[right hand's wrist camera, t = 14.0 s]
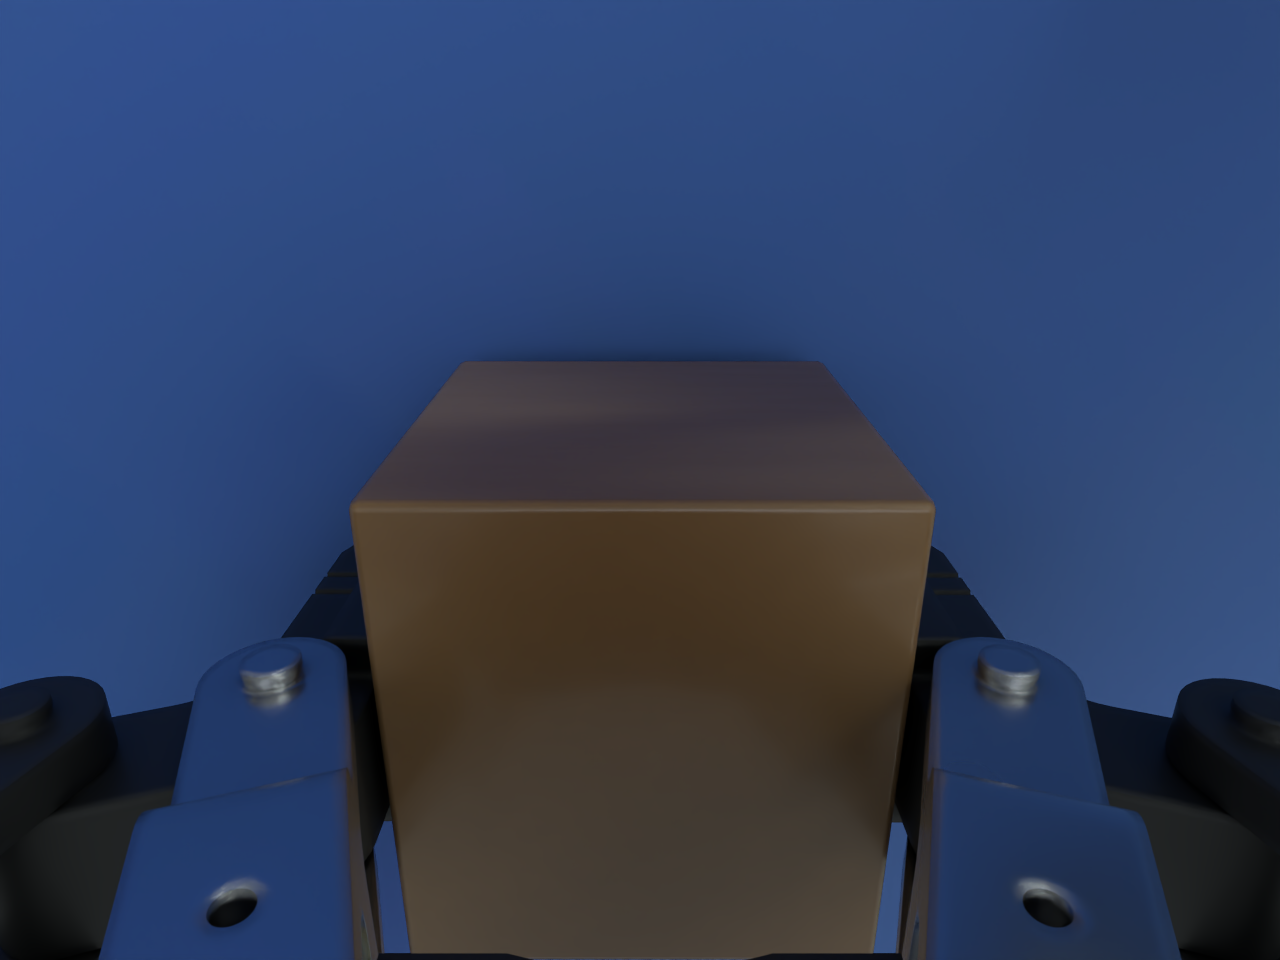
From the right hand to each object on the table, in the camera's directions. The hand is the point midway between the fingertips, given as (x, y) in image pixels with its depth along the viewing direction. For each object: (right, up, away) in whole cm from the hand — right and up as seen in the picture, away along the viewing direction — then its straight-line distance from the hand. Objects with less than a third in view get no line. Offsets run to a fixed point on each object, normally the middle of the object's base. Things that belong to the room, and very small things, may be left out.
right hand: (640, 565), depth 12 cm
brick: (0, 0, 0) cm, 1 cm away
